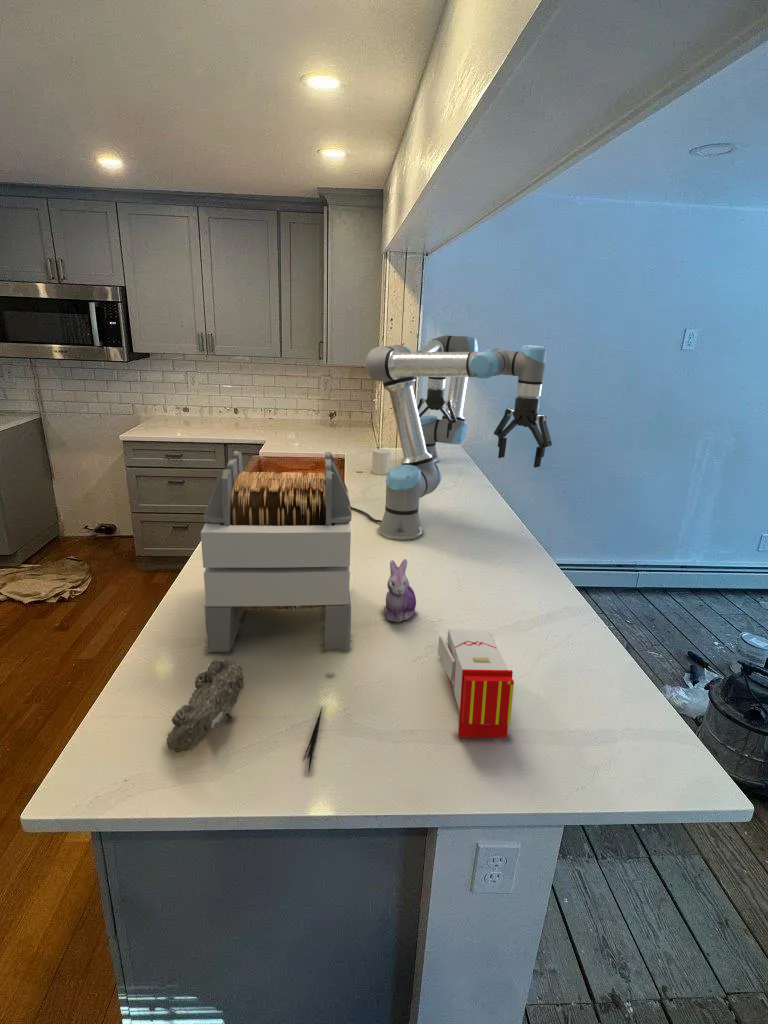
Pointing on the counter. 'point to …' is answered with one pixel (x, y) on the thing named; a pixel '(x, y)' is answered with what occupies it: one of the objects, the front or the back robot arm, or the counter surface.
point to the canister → (381, 461)
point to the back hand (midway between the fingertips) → (432, 436)
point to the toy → (478, 682)
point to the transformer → (277, 549)
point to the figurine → (399, 594)
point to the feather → (313, 740)
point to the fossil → (206, 705)
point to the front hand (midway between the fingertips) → (518, 462)
